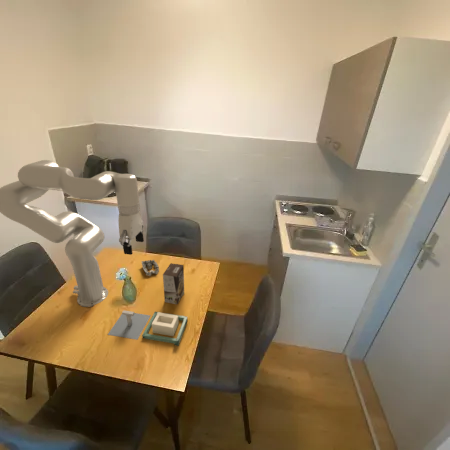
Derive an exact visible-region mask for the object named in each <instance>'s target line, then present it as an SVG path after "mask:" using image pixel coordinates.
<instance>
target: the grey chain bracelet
mask: <svg viewBox="0 0 450 450" xmlns="http://www.w3.org/2000/svg"><path fill="white" fill-rule="evenodd" d="M141 266H142V269H143V271H144V272H145V276H146V277H147V276H149V277H152V275H158V274H159V273H160V268H159V267H160V266H159V264H158V263H157V261H155V259H152V260H151V259H150V260H143V261H141ZM153 268H155V269H154V270H153Z"/></svg>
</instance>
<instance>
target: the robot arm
mask: <svg viewBox="0 0 450 450" xmlns="http://www.w3.org/2000/svg"><path fill="white" fill-rule="evenodd" d="M74 175H75V174H74V172H73V171H72V170H71V168H68V167H66V166H65V167H64V166H59V165H58V164H57V163H56V162H55V161H52V160H48V159H43V160H39V161H36V162H32V163H28V164H25V165H24V166H22V167H21V168H19V170H18V171H17V178H18V180H17V181H13V182H11V183H8V184H5V185H3V186H0V213H1V214H2V215H3V216H4V217H6V218H7V219H9V220H11V221H13V222H16V223H18V224H20V225H23V226H24V227H26V228H28V229H30V230H31V231H33V232H34V233H36V234H38V235H39V236H41V237H43V238H44V239H46V240H48V241H49V242H51V243H53V244H61V243H63V242H65V241H66V240H68V238H70V237H71V236H72V235H73V237H71V238H70V239H69V240H68V241H67V243H65V247H64V252H65V254H66V256H67V258H68V260H69V262H70V265H71V267H72V271H73V274H74V277H75V278H74V279H75V282H76V285H74V287H73V291H72V293H73V294H77V298H76V300H77V301H76V302H77V304H78V305H79V306H81V307H84V308H90V307H95V305H97V304H99V303H101V302H103V301H104V300H105V299H106V298H107V297H108V295H109V290H108V289H107V287H105V286H104V284H103V280H102V279H103V278H102V275H101V269H100V266H99V260H98V259H97V258H96V257H95V256H94V253H95V251H96V250H97V249H98V247H100V246H101V244H103V242H104V240H105V233H104V232H103V230H102V229H101V228H100V227H99V226H97V225H95V224H94V223H93V222H91V221H90V220H88V219H87V218H85V217H83V216H81V215H80V214H79V213H77V212H74V211H67V210H66V211H62V212H60V213H58V214H57V215H53V214H51V213H49V212H47V211H46V210H45V209H42V208H41V207H37V206H33V205H28V203H30V202H33V201H35V200H37V199H39V198H41V197H43V195H45V194H46V193H47V192H49V191H60V192H64V193H65V194H66V195H68V196H69V197H72V198H75V199H79V200H87V201H99V200H103V199H105V198H106V197H108V196H109V195H110V194H112V193H115V196H116V202H117V208H118V222H117V223H118V233H119V238H118V242H119V243H120V245H121V246H122V249H123V254H125V255H130V256H132V255H133V248H132V245H131V244H132V240H133V239H135V241H136V242H139V243H143V242H145V241H144V230H143V229H144V220H143V218H142V213H141V206H140V197H139V188H138V179H137V177H136V175H134V174H133V173H132V174H131V173H119V172H116V171H110V170H106V171H102V172H101V173H98V174H95V175H94V176H92V177H88V178H87V177H77V176H74ZM127 240H128V241H127Z"/></svg>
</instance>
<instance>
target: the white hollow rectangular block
mask: <svg viewBox="0 0 450 450" xmlns="http://www.w3.org/2000/svg"><path fill="white" fill-rule="evenodd" d="M157 312H158V313H157V315H156V317H155V319H154V321H153V322H152V326H151V329H152V333H153V334H158V335H159V334H160V335H162V336H163V335H165V336H168V337H169V336H170V337H175V334H176V332H177V329H178V327H179V323H180V322H179V321H180V320H178V316H177V315H178V314H174V315H171V314H172V313H167V314H165V313H166V312H161V313H160V311H157Z"/></svg>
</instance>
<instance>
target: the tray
mask: <svg viewBox="0 0 450 450" xmlns="http://www.w3.org/2000/svg"><path fill="white" fill-rule="evenodd" d="M158 312H160V311H154V313H153V315H151V317H150V320H149V322H147V323H148V324H146V326H145V328H144V329H145V330H143V333H142V334H141V338H142V339H145V340H151V341H152V340H153V341H158V342H164V343H168V344H169V343H170V344H173V346H177V347H179V345H180V342H181V340H182V337H183V334H184V332H185V329H186V326H187V324H188V316H185V315H179V314H176V315H177V316H178V321H182V323H181V324H180V329H179V330H178V334H177V335H176V337H171V336H170V337H169V336H163V335H159V334H158V335H157V334H152V333H149V332H150V330H151V329H152V322H153V321H154V319H155V317H156V315H157V313H158ZM160 313H162V312H160ZM164 313H165V314H168V313H167V312H164ZM170 314H171V315H175V314H172V313H170Z"/></svg>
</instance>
